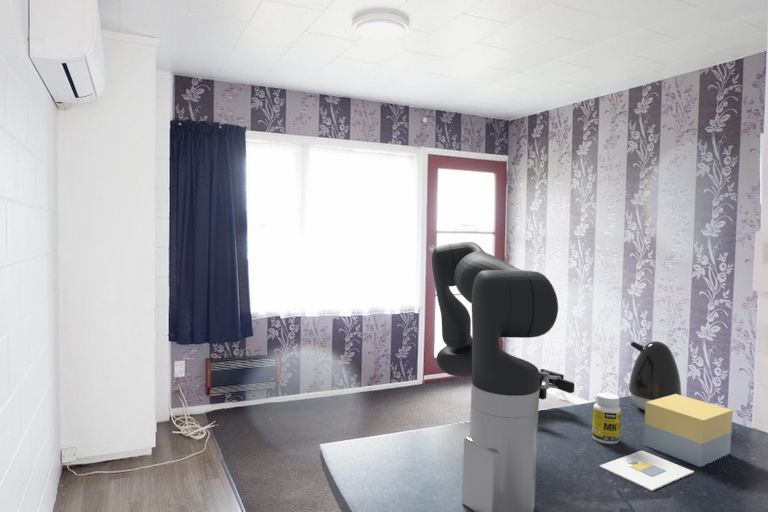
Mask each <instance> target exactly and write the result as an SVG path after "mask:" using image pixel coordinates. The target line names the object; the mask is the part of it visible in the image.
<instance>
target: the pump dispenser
mask: <svg viewBox="0 0 768 512" xmlns="http://www.w3.org/2000/svg"><path fill="white" fill-rule="evenodd" d="M630 346H631V347H633V348H634V349H636V350H638V351H639V354H638V356H637V358H636V359H635V362H634V364H633V367H632V370H631V374H630V379H629V384H628V392H629V393H630V397H631V400H632V402H633V403H634V405H636V406H637V407H638V408H639V409H641V410H642V411H645V407H646V402H648V401H652V400H655V399H659V398H663V397H666V396H670V395H673V394H678V395H682V387H681V386H682V385H681V376H680V372H679V368H678V365H677V362H676V359H675V357H674V355H673V353H672V351H671V349H670V347H669V346H668V345H667V344H665V343H663V342H661V341H651V342H648V343H647V344H645V345H642V344H640V343H638V342H635V341H631V342H630Z"/></svg>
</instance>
